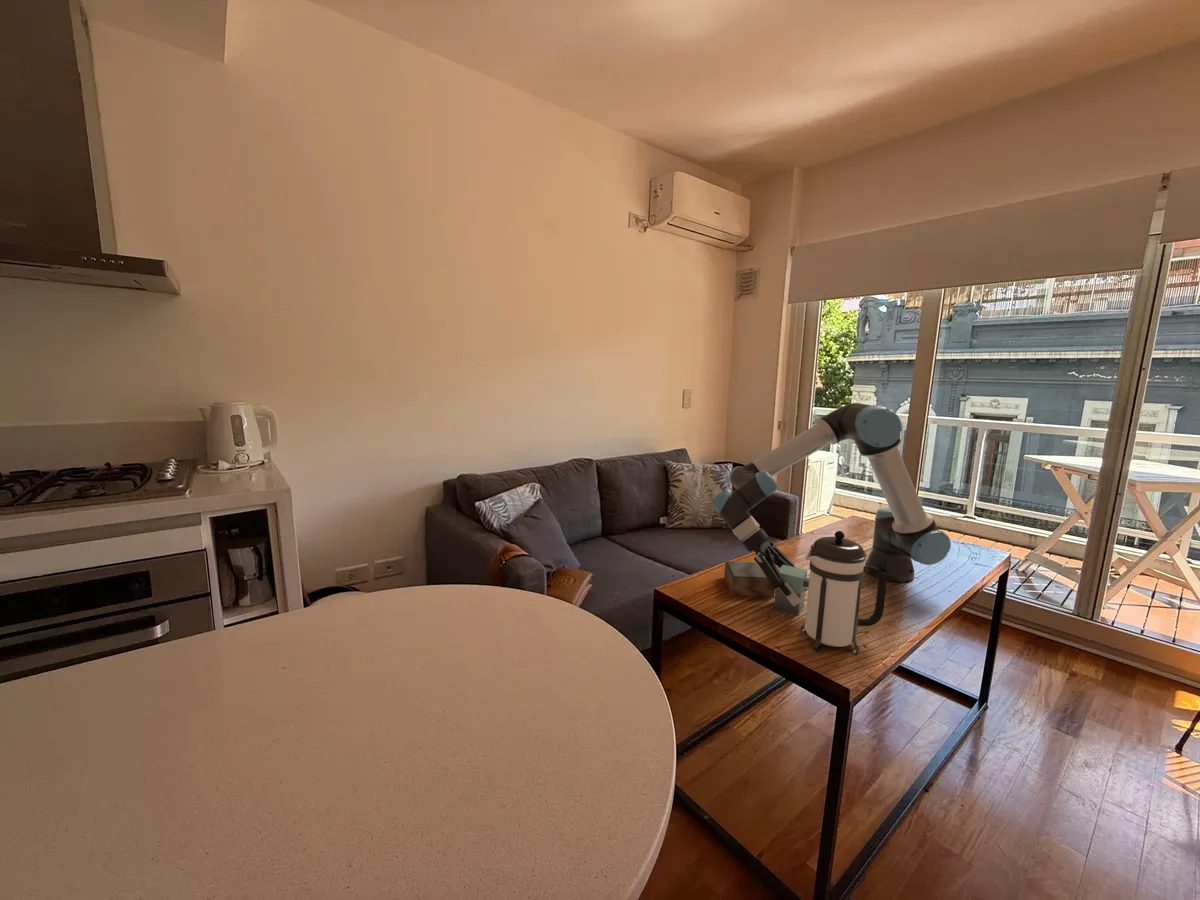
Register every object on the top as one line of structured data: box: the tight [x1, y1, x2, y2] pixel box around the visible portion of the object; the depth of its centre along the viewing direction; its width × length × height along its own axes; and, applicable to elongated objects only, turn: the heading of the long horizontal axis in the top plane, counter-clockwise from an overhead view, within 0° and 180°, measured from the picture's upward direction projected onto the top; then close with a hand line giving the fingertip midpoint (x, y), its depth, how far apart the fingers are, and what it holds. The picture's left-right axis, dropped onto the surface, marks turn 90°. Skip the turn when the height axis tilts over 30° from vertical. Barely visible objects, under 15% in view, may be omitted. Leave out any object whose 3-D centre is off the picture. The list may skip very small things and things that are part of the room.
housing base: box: [773, 587, 806, 616], centre depth 148 cm, size 7×7×6 cm
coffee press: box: [800, 530, 887, 654], centre depth 129 cm, size 17×16×30 cm
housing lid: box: [776, 565, 809, 595], centre depth 147 cm, size 7×9×5 cm
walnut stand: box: [723, 560, 775, 598], centre depth 162 cm, size 13×13×6 cm
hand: (801, 597), depth 147 cm, fingers open, 9 cm apart
